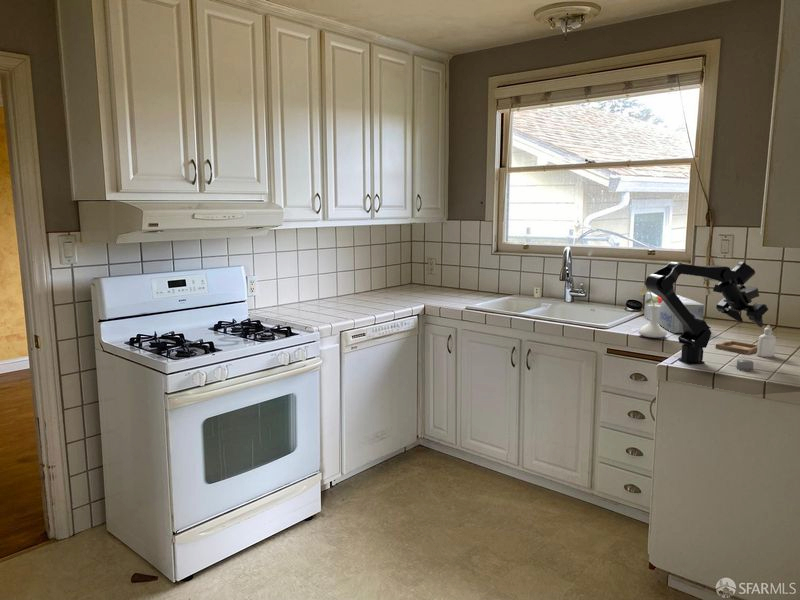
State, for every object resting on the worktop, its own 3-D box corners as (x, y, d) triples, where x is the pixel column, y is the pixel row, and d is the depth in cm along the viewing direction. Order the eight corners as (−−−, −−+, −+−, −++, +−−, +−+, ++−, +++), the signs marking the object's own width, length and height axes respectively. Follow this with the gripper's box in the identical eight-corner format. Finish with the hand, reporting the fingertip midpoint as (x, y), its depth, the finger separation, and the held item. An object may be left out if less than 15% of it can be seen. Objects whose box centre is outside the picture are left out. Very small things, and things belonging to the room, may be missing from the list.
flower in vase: (652, 333, 264) (656, 277, 260) (672, 338, 254) (676, 280, 250) (629, 335, 260) (633, 278, 256) (648, 340, 249) (652, 282, 245)
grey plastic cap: (743, 371, 204) (744, 363, 203) (732, 367, 209) (733, 359, 208) (756, 371, 205) (757, 362, 204) (745, 367, 210) (746, 358, 209)
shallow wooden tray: (746, 354, 227) (747, 350, 226) (715, 348, 237) (715, 344, 236) (761, 350, 233) (762, 346, 233) (730, 344, 243) (731, 340, 243)
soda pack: (702, 335, 261) (705, 304, 259) (672, 334, 262) (675, 303, 260) (669, 317, 301) (671, 290, 299) (643, 317, 302) (644, 290, 300)
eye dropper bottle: (774, 358, 221) (777, 326, 219) (757, 356, 224) (760, 325, 222) (773, 355, 225) (776, 324, 223) (756, 354, 227) (759, 323, 225)
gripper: (768, 282, 207) (788, 314, 212) (727, 275, 225) (746, 305, 230) (746, 303, 207) (766, 335, 211) (707, 295, 224) (726, 324, 229)
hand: (751, 324), depth 220 cm, fingers open, 9 cm apart
